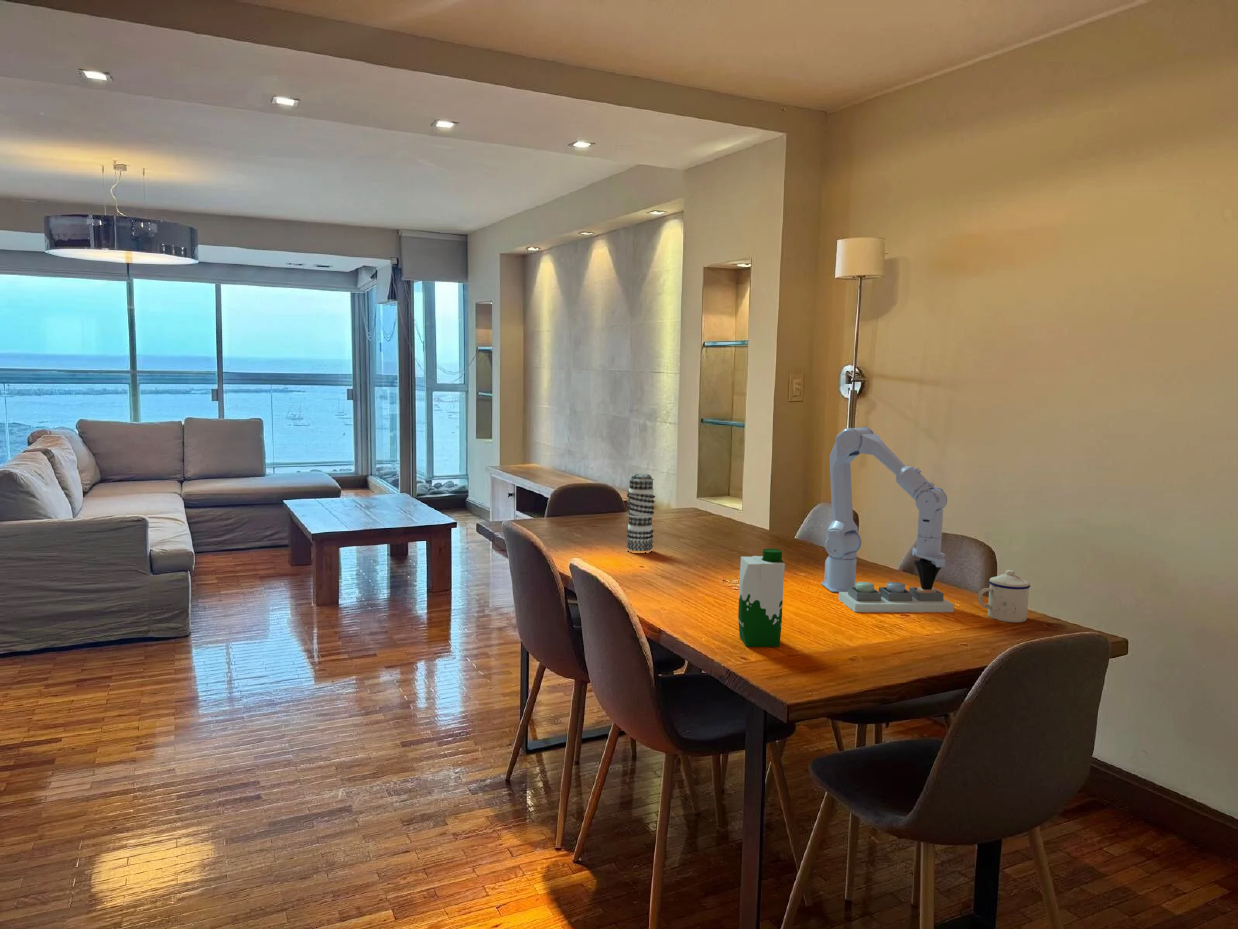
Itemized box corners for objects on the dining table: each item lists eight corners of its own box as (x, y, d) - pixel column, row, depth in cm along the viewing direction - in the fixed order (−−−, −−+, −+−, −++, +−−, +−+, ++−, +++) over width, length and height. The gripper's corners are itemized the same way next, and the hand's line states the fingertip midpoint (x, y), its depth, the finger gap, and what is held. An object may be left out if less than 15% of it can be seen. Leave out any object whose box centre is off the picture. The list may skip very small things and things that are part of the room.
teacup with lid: (1015, 612, 211) (1018, 566, 210) (1035, 623, 202) (1038, 575, 201) (968, 612, 210) (971, 566, 209) (986, 623, 201) (989, 574, 200)
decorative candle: (621, 552, 273) (623, 475, 271) (629, 547, 282) (631, 472, 279) (649, 555, 271) (651, 476, 268) (656, 549, 279) (658, 473, 277)
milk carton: (785, 648, 179) (788, 554, 177) (742, 648, 179) (746, 554, 177) (774, 635, 188) (778, 546, 186) (733, 635, 187) (737, 546, 185)
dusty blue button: (883, 590, 217) (884, 581, 217) (900, 590, 217) (900, 581, 217) (890, 594, 213) (890, 586, 213) (907, 594, 213) (908, 586, 213)
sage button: (852, 590, 216) (853, 581, 216) (869, 590, 217) (870, 581, 217) (859, 594, 212) (859, 586, 212) (876, 594, 212) (876, 586, 212)
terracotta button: (913, 595, 218) (914, 586, 218) (930, 595, 218) (930, 586, 218) (921, 599, 214) (921, 591, 213) (938, 599, 214) (938, 591, 214)
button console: (838, 599, 220) (839, 584, 220) (932, 599, 222) (932, 584, 222) (854, 612, 209) (855, 596, 208) (953, 612, 211) (954, 596, 210)
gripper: (958, 541, 207) (955, 596, 209) (932, 531, 222) (929, 582, 223) (930, 541, 207) (927, 596, 208) (905, 530, 221) (903, 582, 223)
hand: (926, 589), depth 216 cm, fingers closed, pressing on terracotta button
